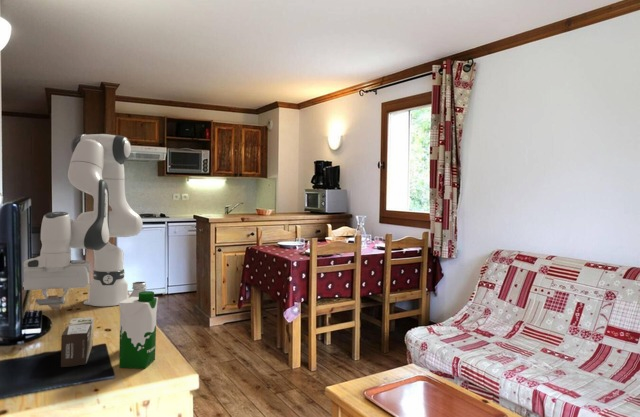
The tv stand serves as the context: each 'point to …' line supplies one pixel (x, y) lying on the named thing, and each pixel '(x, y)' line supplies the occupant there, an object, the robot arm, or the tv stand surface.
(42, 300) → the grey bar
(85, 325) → the coffee box
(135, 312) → the milk carton
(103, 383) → the tv stand surface
